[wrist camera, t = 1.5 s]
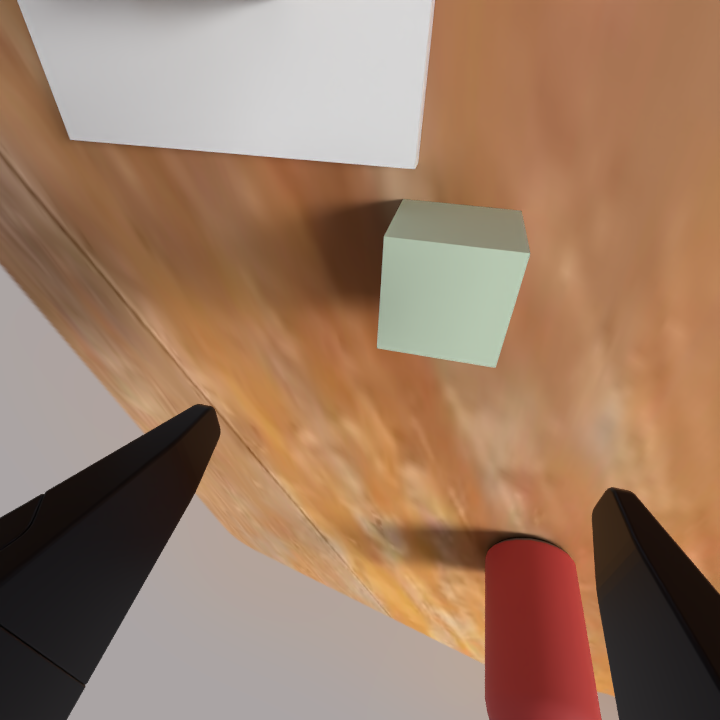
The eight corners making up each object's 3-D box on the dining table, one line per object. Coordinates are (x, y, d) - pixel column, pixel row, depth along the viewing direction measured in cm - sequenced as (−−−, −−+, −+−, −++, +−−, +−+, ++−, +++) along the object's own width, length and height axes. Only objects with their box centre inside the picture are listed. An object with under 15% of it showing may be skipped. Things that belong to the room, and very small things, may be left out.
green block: (521, 209, 17) (530, 253, 14) (493, 311, 20) (495, 367, 17) (403, 198, 18) (383, 236, 14) (394, 297, 21) (377, 348, 18)
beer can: (520, 523, 30) (535, 737, 21) (595, 560, 30) (641, 783, 21) (469, 553, 34) (462, 742, 25) (535, 585, 35) (553, 781, 25)
